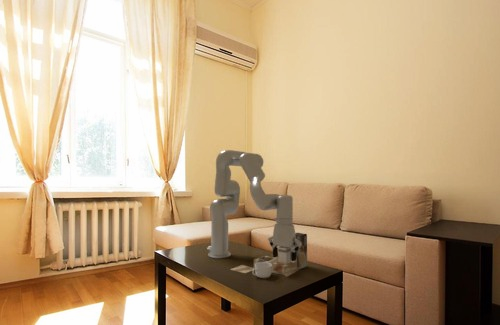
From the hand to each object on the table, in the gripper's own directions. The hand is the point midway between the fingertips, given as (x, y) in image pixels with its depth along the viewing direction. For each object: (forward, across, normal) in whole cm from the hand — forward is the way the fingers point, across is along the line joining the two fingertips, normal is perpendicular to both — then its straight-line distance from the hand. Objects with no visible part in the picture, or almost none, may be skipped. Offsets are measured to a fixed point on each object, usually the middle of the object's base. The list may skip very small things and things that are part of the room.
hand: (284, 258), depth 135 cm
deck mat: (+6, -17, -9) cm, 20 cm away
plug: (+5, 0, 0) cm, 5 cm away
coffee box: (+6, +1, +11) cm, 13 cm away
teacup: (+7, -5, -12) cm, 15 cm away
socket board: (+6, -5, 0) cm, 8 cm away
